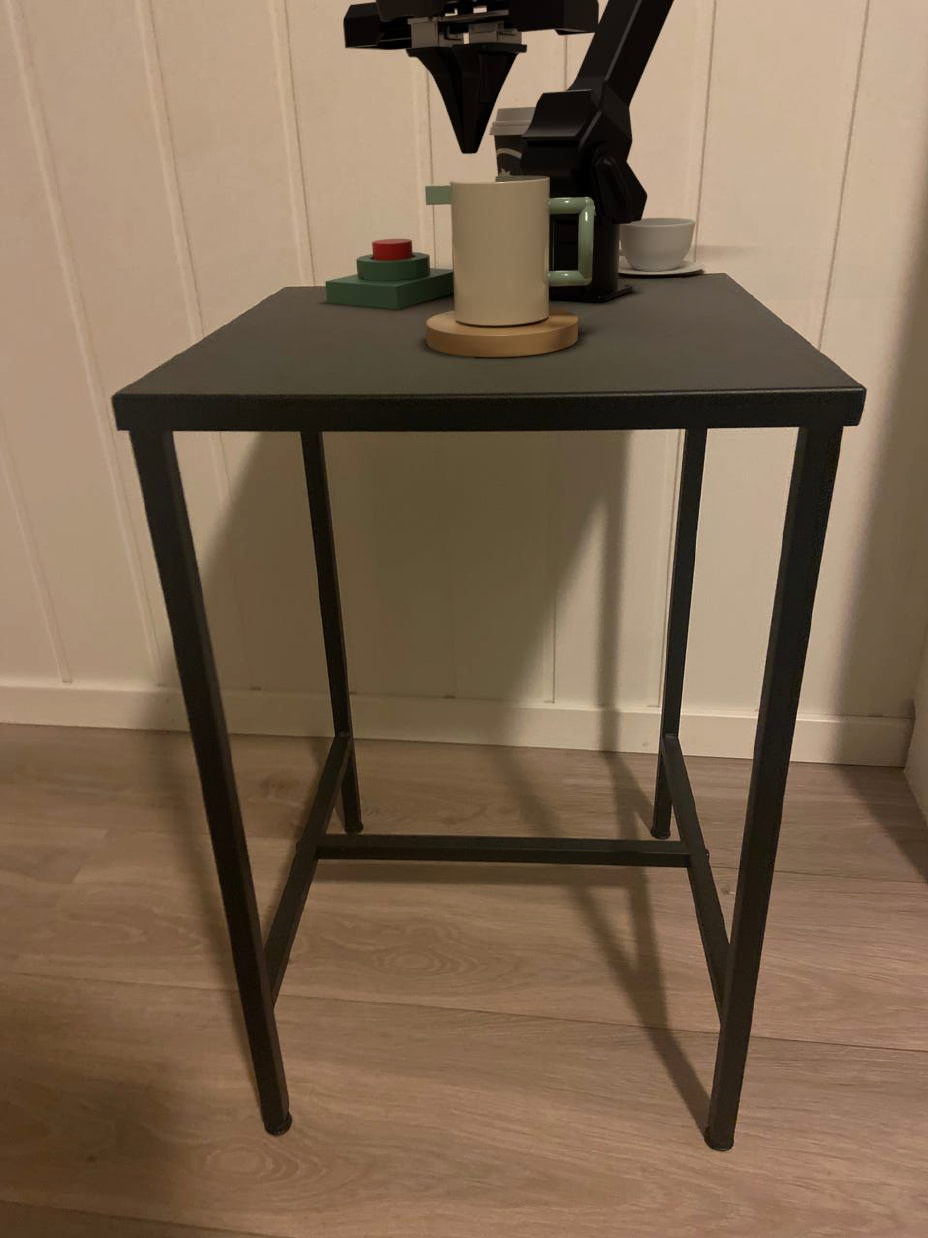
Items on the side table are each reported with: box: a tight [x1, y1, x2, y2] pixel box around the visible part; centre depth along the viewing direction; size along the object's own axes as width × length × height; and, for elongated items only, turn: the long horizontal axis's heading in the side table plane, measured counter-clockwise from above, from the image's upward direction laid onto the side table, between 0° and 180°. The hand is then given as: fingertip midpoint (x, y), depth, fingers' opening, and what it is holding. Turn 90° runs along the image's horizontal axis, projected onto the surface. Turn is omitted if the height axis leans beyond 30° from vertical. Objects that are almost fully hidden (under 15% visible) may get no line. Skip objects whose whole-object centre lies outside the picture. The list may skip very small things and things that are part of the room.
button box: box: [325, 251, 454, 310], centre depth 86 cm, size 10×8×4 cm
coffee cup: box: [488, 106, 556, 271], centre depth 88 cm, size 10×10×15 cm
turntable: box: [425, 307, 579, 359], centre depth 68 cm, size 11×11×2 cm
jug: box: [424, 175, 595, 326], centre depth 65 cm, size 11×7×9 cm, turn 86°
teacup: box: [618, 217, 706, 276], centre depth 93 cm, size 10×10×5 cm
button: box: [371, 238, 413, 260], centre depth 85 cm, size 4×4×2 cm
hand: (469, 153), depth 71 cm, fingers closed
